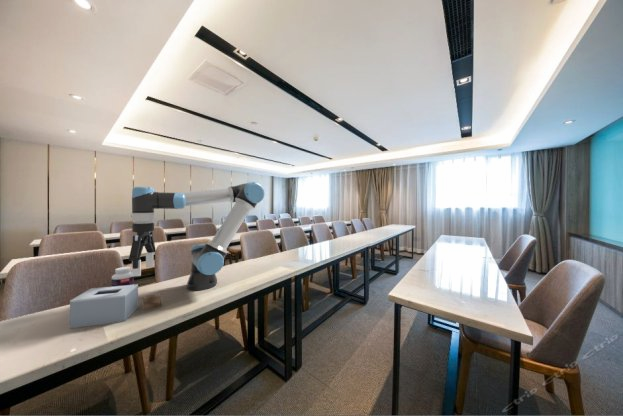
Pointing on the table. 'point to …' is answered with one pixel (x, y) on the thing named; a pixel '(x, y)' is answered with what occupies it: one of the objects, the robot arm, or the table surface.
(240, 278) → the table surface
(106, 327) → the table surface
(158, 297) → the token
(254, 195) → the robot arm
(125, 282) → the pill bottle
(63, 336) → the table surface
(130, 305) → the box
